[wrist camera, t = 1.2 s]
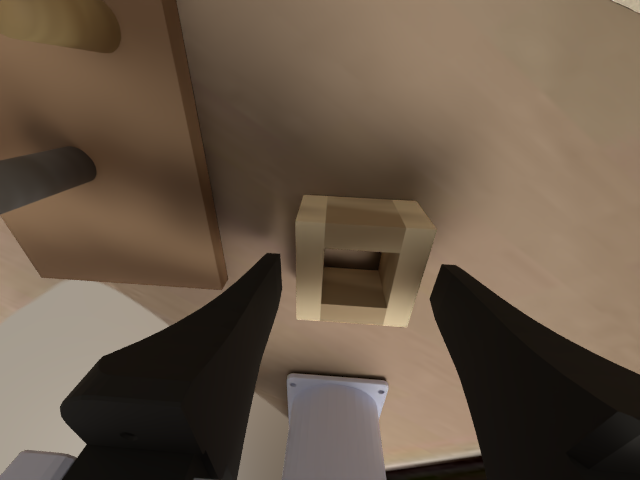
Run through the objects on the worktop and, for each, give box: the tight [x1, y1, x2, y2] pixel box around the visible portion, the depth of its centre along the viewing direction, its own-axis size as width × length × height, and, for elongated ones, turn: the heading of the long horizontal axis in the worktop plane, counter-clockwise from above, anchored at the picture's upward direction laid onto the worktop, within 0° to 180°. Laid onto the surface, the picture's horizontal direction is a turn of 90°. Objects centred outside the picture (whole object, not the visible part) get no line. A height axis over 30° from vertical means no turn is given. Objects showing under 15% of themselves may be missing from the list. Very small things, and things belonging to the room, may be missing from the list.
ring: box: [295, 195, 437, 327], centre depth 13 cm, size 6×6×3 cm
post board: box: [0, 0, 228, 290], centre depth 10 cm, size 14×11×5 cm
